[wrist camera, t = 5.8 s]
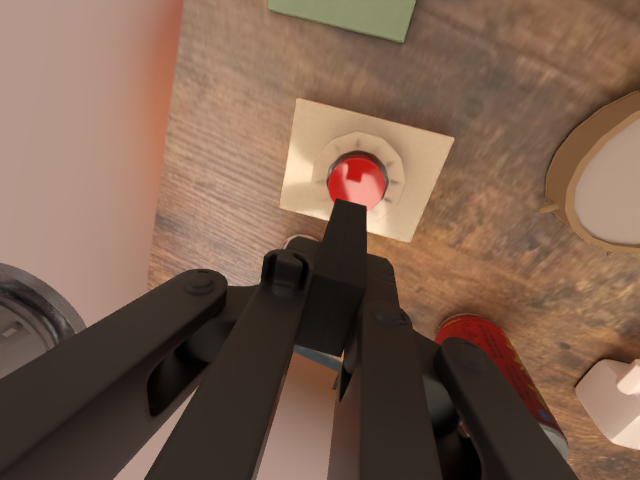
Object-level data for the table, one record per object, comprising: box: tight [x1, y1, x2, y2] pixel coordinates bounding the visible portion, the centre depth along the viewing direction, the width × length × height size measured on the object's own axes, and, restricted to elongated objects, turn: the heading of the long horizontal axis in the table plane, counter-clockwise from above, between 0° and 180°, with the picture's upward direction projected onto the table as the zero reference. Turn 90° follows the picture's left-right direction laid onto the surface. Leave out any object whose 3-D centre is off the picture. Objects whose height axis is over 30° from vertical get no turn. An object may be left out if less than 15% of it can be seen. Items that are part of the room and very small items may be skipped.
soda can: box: [435, 313, 569, 461], centre depth 25 cm, size 7×7×12 cm
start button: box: [328, 154, 385, 211], centre depth 20 cm, size 4×4×2 cm
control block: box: [279, 98, 455, 243], centre depth 23 cm, size 12×9×4 cm
